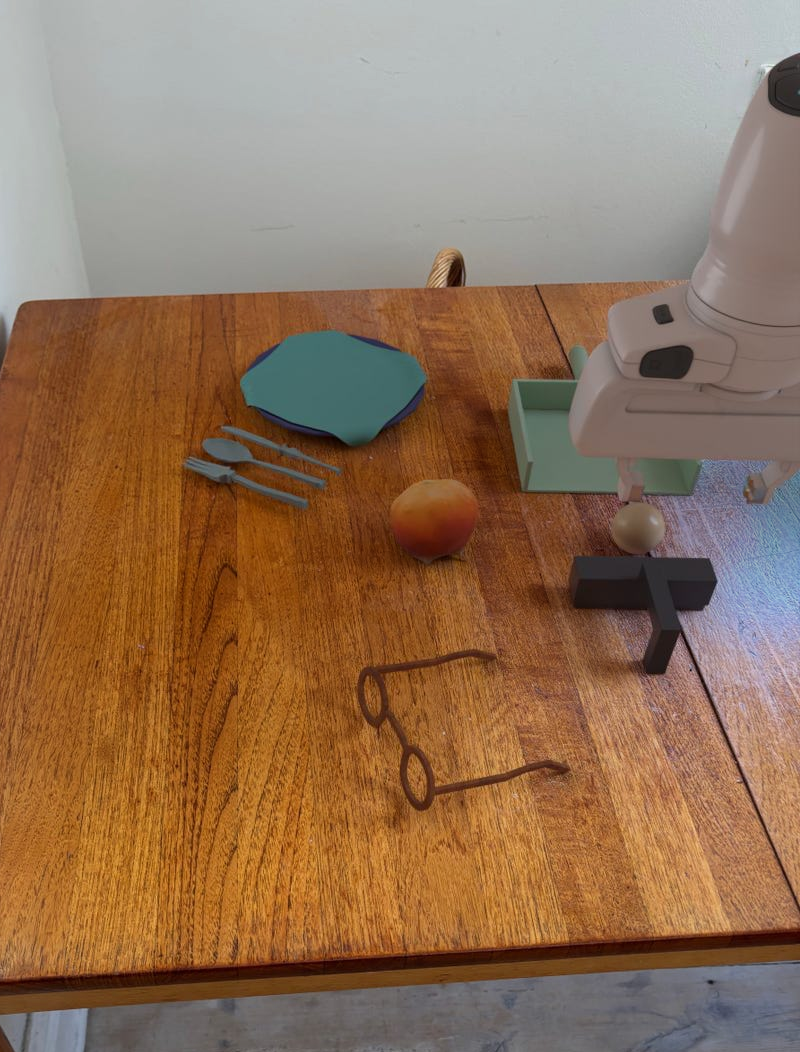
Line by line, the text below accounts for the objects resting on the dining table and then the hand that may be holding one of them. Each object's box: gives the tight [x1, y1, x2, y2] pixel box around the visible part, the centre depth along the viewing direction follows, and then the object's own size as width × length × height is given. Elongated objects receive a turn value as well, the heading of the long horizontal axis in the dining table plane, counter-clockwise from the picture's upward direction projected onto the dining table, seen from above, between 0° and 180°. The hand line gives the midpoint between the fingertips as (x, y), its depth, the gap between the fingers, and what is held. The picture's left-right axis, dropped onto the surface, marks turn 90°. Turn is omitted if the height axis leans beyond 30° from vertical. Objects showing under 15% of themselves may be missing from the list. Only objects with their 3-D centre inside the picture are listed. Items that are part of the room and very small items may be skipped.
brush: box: [567, 555, 719, 675], centre depth 90 cm, size 10×12×5 cm
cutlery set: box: [181, 329, 430, 511], centre depth 112 cm, size 20×30×2 cm, turn 149°
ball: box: [610, 501, 666, 555], centre depth 97 cm, size 5×5×5 cm
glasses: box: [356, 648, 572, 812], centre depth 81 cm, size 13×13×5 cm
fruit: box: [390, 478, 480, 567], centre depth 97 cm, size 8×8×8 cm
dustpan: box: [507, 344, 703, 496], centre depth 111 cm, size 24×17×4 cm
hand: (691, 498), depth 78 cm, fingers open, 8 cm apart
